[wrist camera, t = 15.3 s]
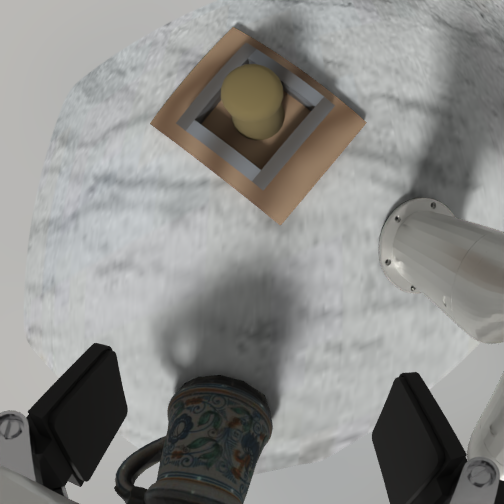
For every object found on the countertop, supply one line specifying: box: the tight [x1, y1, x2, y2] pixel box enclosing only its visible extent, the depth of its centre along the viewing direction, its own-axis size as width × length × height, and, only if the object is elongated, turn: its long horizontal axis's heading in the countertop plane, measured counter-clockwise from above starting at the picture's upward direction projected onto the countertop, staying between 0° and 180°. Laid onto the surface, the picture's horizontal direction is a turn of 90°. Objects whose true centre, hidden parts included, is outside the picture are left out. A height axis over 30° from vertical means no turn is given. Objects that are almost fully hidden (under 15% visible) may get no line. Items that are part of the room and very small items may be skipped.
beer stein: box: [114, 375, 273, 504], centre depth 32 cm, size 16×19×25 cm
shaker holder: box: [150, 27, 367, 225], centre depth 31 cm, size 20×16×4 cm
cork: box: [221, 64, 285, 140], centre depth 26 cm, size 6×6×11 cm
